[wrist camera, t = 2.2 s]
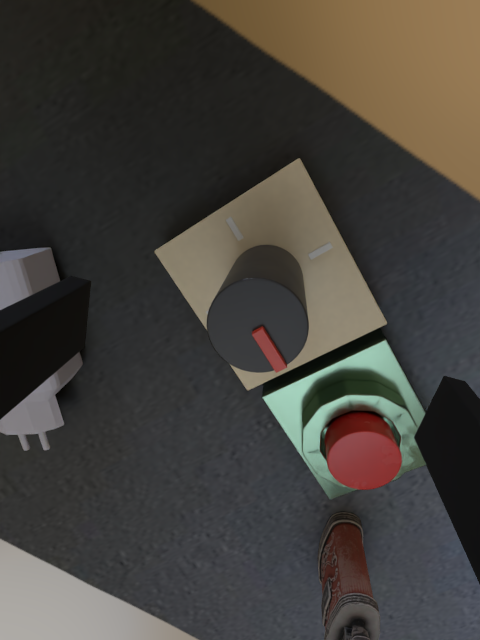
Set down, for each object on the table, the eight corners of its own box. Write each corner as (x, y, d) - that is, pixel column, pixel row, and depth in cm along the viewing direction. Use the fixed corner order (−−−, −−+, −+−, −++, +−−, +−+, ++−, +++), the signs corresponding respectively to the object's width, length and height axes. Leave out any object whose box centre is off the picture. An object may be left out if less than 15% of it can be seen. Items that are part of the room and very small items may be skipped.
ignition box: (263, 381, 30) (259, 412, 26) (378, 326, 27) (393, 351, 23) (327, 479, 32) (332, 520, 28) (438, 436, 29) (459, 475, 26)
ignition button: (312, 427, 26) (314, 448, 24) (375, 400, 25) (382, 420, 23) (343, 476, 27) (347, 499, 25) (405, 452, 26) (414, 475, 24)
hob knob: (216, 268, 24) (185, 311, 17) (280, 230, 23) (275, 259, 16) (253, 327, 25) (239, 392, 18) (316, 294, 24) (328, 349, 17)
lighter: (326, 509, 33) (340, 643, 24) (368, 515, 33) (399, 653, 24) (312, 576, 36) (320, 719, 27) (350, 583, 36) (371, 729, 26)
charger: (4, 431, 34) (-62, 256, 29) (106, 428, 33) (56, 245, 28) (-38, 470, 30) (-125, 273, 24) (78, 469, 28) (12, 260, 23)
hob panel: (165, 243, 27) (152, 251, 24) (298, 158, 24) (299, 157, 21) (250, 373, 29) (247, 392, 27) (379, 310, 27) (388, 325, 24)
